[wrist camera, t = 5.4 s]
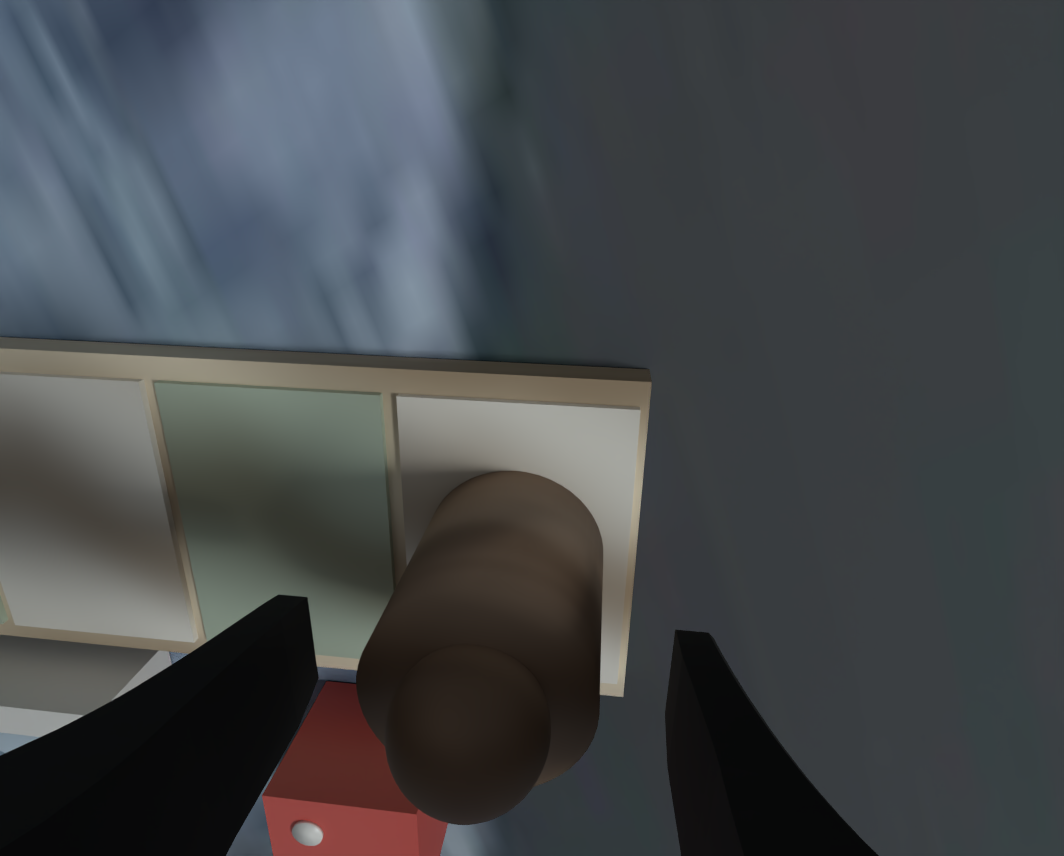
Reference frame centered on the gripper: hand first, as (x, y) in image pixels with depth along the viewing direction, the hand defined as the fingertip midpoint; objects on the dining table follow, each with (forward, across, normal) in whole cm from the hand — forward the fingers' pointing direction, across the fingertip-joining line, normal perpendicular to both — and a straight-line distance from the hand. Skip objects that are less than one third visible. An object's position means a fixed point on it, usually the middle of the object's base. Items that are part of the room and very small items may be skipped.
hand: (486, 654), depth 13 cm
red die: (+5, +4, +8) cm, 10 cm away
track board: (+5, +9, 0) cm, 10 cm away
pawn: (+4, 0, 0) cm, 4 cm away
